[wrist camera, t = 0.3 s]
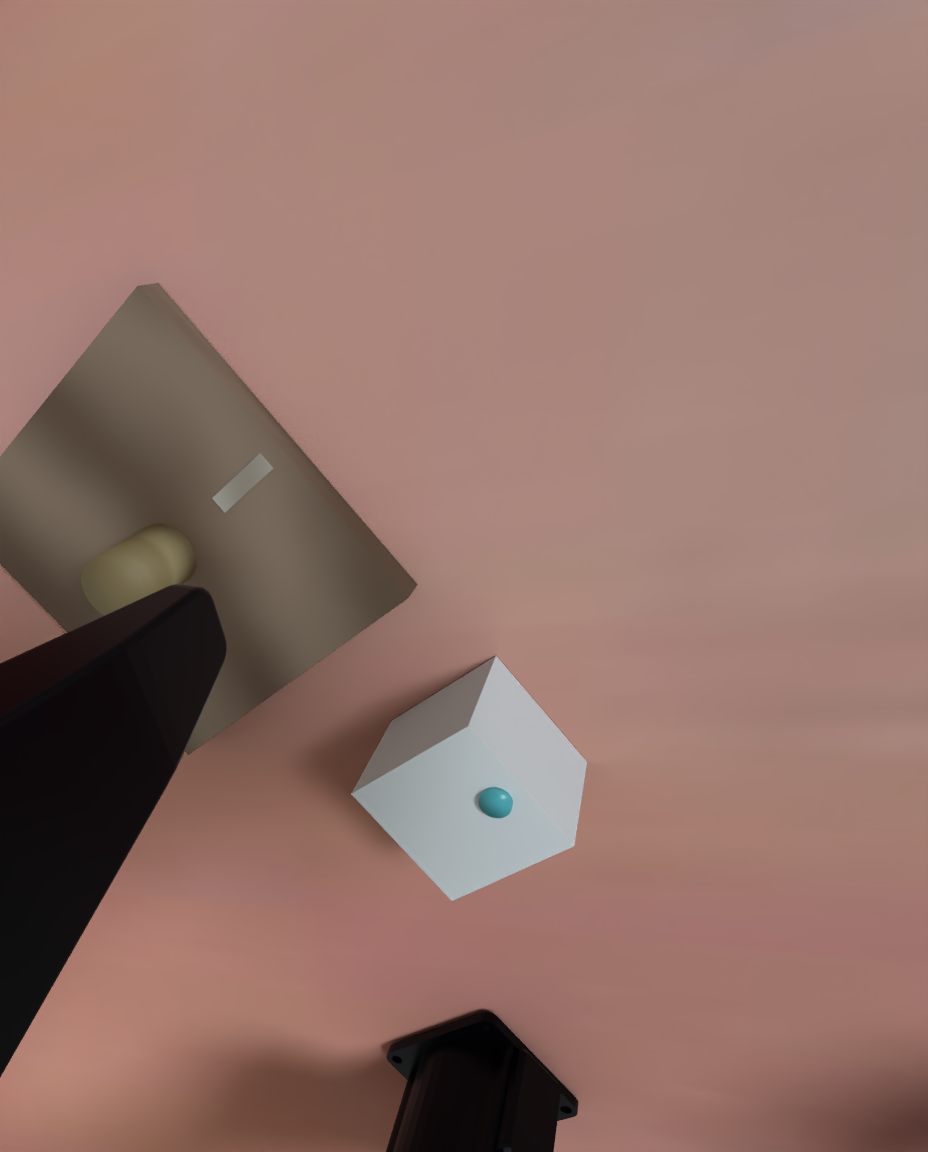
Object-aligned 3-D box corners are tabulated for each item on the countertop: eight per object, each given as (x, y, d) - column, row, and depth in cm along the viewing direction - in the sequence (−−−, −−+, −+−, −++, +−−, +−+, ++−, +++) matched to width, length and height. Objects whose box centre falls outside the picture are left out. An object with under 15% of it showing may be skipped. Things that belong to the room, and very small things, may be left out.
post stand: (202, 739, 30) (144, 803, 27) (-25, 506, 28) (-119, 545, 25) (417, 584, 25) (378, 641, 22) (158, 283, 23) (70, 294, 19)
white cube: (479, 816, 29) (450, 905, 25) (391, 720, 28) (348, 798, 24) (587, 762, 26) (573, 850, 23) (495, 655, 25) (466, 730, 22)
